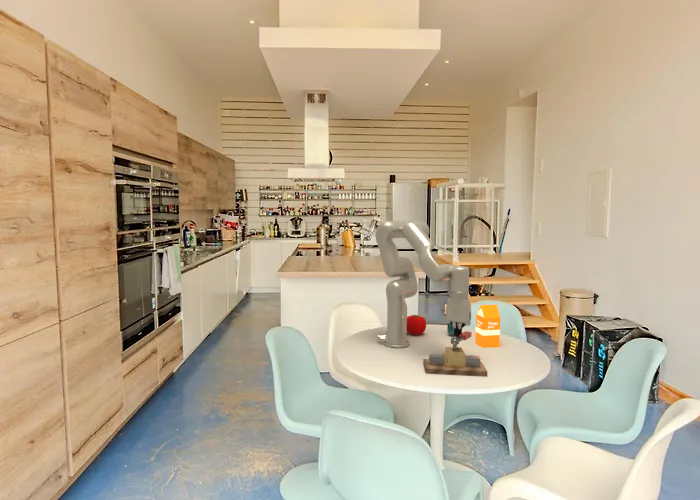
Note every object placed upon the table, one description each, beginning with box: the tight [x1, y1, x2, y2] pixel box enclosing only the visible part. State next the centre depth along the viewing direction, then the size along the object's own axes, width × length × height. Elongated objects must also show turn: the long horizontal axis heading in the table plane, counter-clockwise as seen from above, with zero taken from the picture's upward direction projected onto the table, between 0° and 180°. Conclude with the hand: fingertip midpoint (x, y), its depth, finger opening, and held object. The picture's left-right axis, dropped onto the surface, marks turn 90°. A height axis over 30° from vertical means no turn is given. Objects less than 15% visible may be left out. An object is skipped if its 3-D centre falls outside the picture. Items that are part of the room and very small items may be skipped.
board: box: [422, 358, 488, 377], centre depth 180 cm, size 24×12×2 cm, turn 85°
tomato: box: [407, 314, 427, 336], centre depth 233 cm, size 12×12×10 cm
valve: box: [428, 344, 481, 368], centre depth 180 cm, size 20×6×9 cm, turn 85°
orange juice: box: [474, 304, 502, 349], centre depth 214 cm, size 8×9×20 cm
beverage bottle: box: [446, 322, 459, 335], centre depth 230 cm, size 6×7×20 cm
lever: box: [450, 330, 472, 346], centre depth 184 cm, size 3×16×3 cm, turn 143°
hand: (457, 337), depth 190 cm, fingers closed
